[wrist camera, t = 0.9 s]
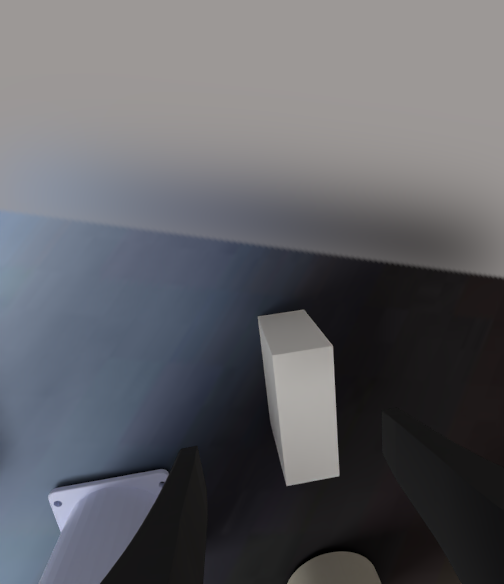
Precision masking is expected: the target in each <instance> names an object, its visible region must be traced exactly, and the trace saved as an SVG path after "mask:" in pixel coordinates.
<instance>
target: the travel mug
mask: <svg viewBox="0 0 504 584" xmlns="http://www.w3.org/2000/svg"><path fill="white" fill-rule="evenodd" d="M287 584H381V581H380V579H379V577H378V574H377V572H376V570H375V568H374V566H373V564H372V563H371V562H370V561H369V560H368V559H367V558H365V557H364V556H362V555H359V554H357V553H353V552H345V551H339V552H331V553H326V554H323V555H320V556H317V557H315V558H313V559H311V560H309V561H307V562H306V563H304V564H303V565H302V566H300V567H299V568H298V569H297V570H296V571H295V572H294V573H293V575H292V576H291V578H290V579H289V581H288V583H287Z"/></svg>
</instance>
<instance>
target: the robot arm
mask: <svg viewBox="0 0 504 584" xmlns="http://www.w3.org/2000/svg"><path fill="white" fill-rule="evenodd" d="M382 446H383V455H384V457H385V459H386V461H387V463H388V465H389V467H390V469H391V471H392V473H393V475H394V476H395V478H396V480H397V482H398V483H399V485H400V486H401V488H402V489H403V491H404V492H405V494H406V495H407V497H408V498H409V500H410V501H411V503H412V504H413V506H414V507H415V509H416V510H417V512H418V513H419V515H420V516H421V518H422V519H423V520H424V522H425V523H426V525H427V526H428V528H429V529H430V531H431V532H432V534H433V535H434V537H435V538H436V540H437V542H438V543H439V545H440V546H441V548H442V550H443V551H444V553H445V555H446V556H447V558H448V560H449V562H450V564H451V565H452V567H453V569H454V571H455V572H456V574H457V576H458V578H459V580H460V581H461V583H462V584H504V468H503V467H501V466H499V465H497V464H495V463H492V462H490V461H488V460H486V459H484V458H482V457H480V456H478V455H476V454H475V453H473V452H471V451H469V450H467V449H465V448H463V447H461V446H460V445H458V444H456V443H454V442H453V441H451V440H449V439H447V438H446V437H444V436H442V435H441V434H439V433H437V432H436V431H434V430H432V429H431V428H429V427H427V426H426V425H424V424H423V423H421V422H419V421H418V420H416V419H415V418H413V417H411V416H410V415H408V414H406V413H405V412H403V411H402V410H400V409H398V408H393V409H387V410H382ZM161 482H165V483H161ZM48 499H49V502H50V504H51V507H52V510H53V512H54V515H55V518H56V520H57V523H58V526H59V528H60V531H61V534H60V536H59V539H58V541H57V543H56V545H55V548H54V550H53V552H52V554H51V557H50V559H49V561H48V563H47V566H46V568H45V570H44V572H43V575H42V577H41V579H40V581H39V584H203V576H204V562H205V549H206V534H207V519H208V516H207V488H206V484H205V479H204V474H203V470H202V465H201V460H200V456H199V451H198V447H197V446H194V447H189V448H184V449H181V450H180V451H179V452H178V455H177V457H176V460H175V462H174V464H173V467H172V469H171V471H170V473H168V471H167V470H164V469H158V470H153V471H147V472H142V473H136V474H131V475H125V476H120V477H114V478H109V479H103V480H98V481H92V482H86V483H81V484H75V485H70V486H64V487H59V488H55V489H53V490H51V492H50V494H49V496H48ZM59 501H60V502H59Z"/></svg>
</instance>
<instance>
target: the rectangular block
mask: <svg viewBox="0 0 504 584" xmlns="http://www.w3.org/2000/svg"><path fill="white" fill-rule="evenodd" d="M258 323H259V331H260V340H261V348H262V357H263V365H264V374H265V382H266V391H267V399H268V408H269V416H270V423H271V427H272V431H273V435H274V439H275V443H276V447H277V451H278V455H279V459H280V463H281V467H282V471H283V475H284V478H285V482H286V486H290V485H295V484H300V483H305V482H311V481H316V480H321V479H327V478H332V477H337V476H339V459H338V439H337V418H336V398H335V378H334V358H333V345H332V344H331V343H330V342H329V340H328V339H327V338H326V337H325V335H324V334H323V333H322V331H321V330H320V329H319V328H318V326H317V325H316V324H315V323H314V321H313V320H312V319H311V318H310V316H309V315H308V314H307V313H306V311H305V310H298V311H291V312H284V313H277V314H271V315H264V316H258Z"/></svg>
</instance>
